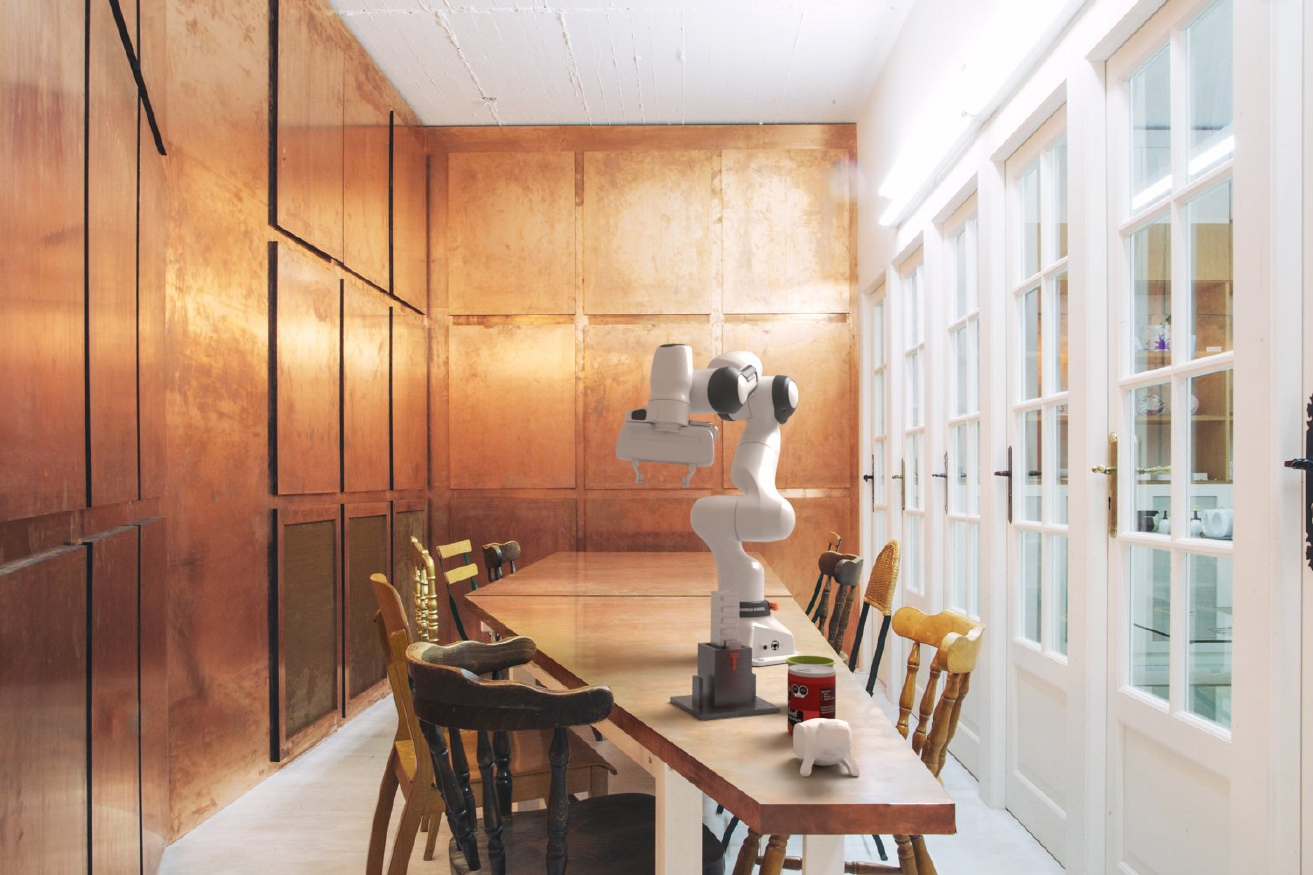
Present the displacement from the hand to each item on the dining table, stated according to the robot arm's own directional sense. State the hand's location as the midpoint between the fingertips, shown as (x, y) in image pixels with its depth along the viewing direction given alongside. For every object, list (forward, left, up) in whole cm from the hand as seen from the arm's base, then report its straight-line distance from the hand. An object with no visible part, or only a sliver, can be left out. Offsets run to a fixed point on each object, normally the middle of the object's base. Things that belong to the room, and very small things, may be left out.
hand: (662, 484), depth 181 cm
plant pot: (-23, +20, -42) cm, 52 cm away
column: (-7, +16, -40) cm, 44 cm away
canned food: (-13, +37, -42) cm, 57 cm away
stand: (-7, +16, -42) cm, 45 cm away
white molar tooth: (-5, +54, -42) cm, 68 cm away
